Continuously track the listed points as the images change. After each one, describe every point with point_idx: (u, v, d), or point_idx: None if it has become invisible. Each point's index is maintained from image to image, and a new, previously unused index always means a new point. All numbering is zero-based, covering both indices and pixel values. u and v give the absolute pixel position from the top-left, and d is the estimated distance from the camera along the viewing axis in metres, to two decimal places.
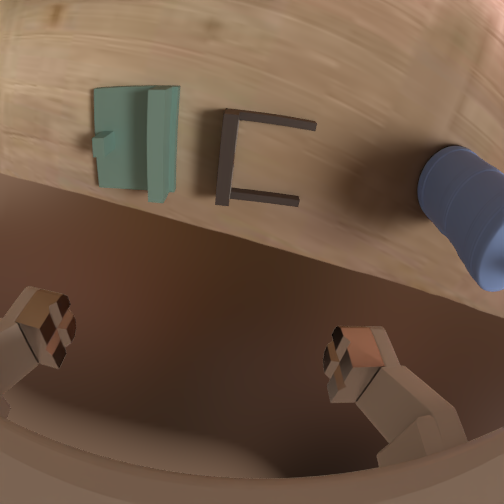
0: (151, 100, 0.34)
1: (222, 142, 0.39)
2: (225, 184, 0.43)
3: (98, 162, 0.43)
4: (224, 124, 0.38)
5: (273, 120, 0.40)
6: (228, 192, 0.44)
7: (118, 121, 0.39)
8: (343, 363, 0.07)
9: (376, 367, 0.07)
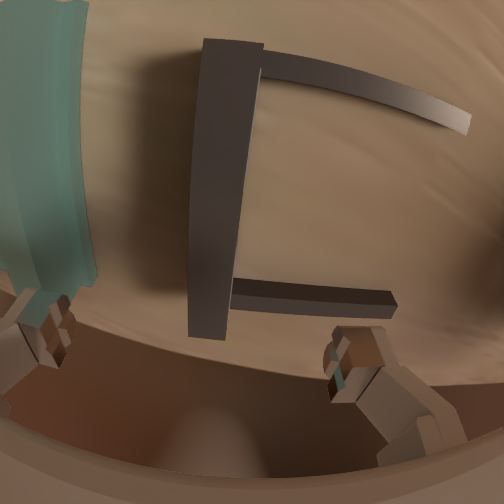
0: None
1: (196, 152, 0.10)
2: (213, 291, 0.14)
3: None
4: (205, 79, 0.09)
5: (367, 87, 0.11)
6: (224, 310, 0.15)
7: None
8: (343, 363, 0.07)
9: (376, 367, 0.07)
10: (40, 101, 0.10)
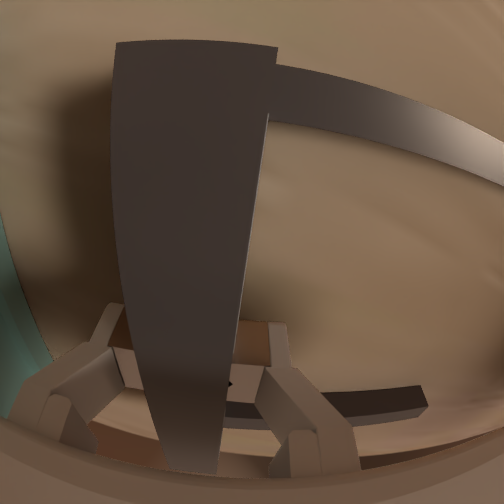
0: None
1: (133, 308, 0.05)
2: (195, 447, 0.08)
3: None
4: (124, 154, 0.04)
5: (453, 145, 0.06)
6: (212, 458, 0.09)
7: None
8: None
9: (259, 366, 0.07)
10: None
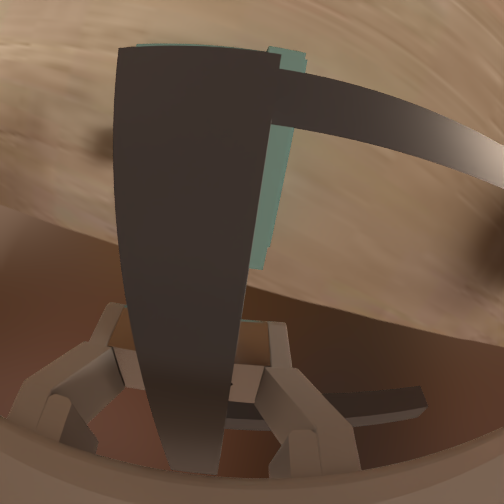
0: None
1: (136, 312, 0.05)
2: (197, 448, 0.08)
3: None
4: (128, 161, 0.04)
5: (453, 149, 0.06)
6: (213, 459, 0.09)
7: None
8: None
9: (260, 366, 0.07)
10: None
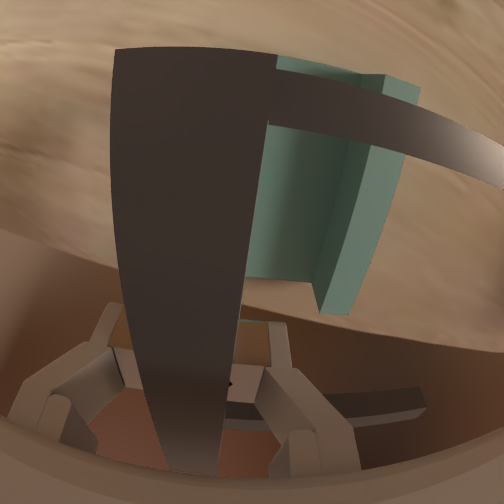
0: None
1: (134, 313, 0.05)
2: (196, 449, 0.08)
3: None
4: (124, 162, 0.04)
5: (452, 149, 0.06)
6: (212, 460, 0.09)
7: None
8: None
9: (260, 366, 0.07)
10: None
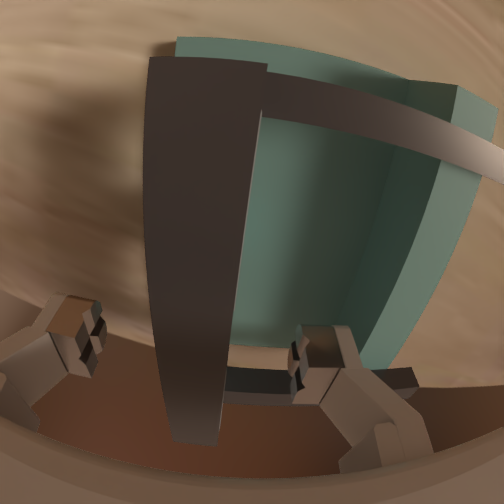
0: (460, 127, 0.08)
1: (152, 265, 0.06)
2: (199, 412, 0.10)
3: None
4: (155, 140, 0.05)
5: (423, 136, 0.07)
6: (213, 426, 0.10)
7: (262, 165, 0.13)
8: (301, 363, 0.07)
9: (335, 368, 0.07)
10: None
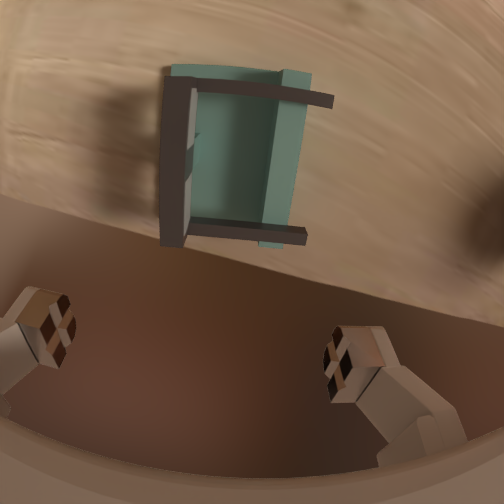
0: (287, 86, 0.22)
1: (162, 130, 0.20)
2: (173, 209, 0.24)
3: None
4: (166, 95, 0.19)
5: (256, 90, 0.21)
6: (180, 223, 0.24)
7: (210, 118, 0.27)
8: (342, 363, 0.07)
9: (376, 367, 0.07)
10: None
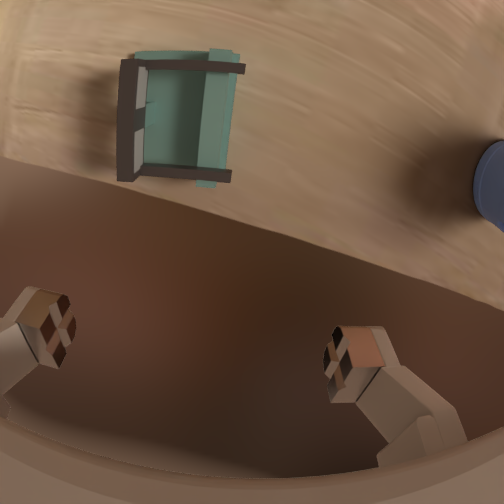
0: (212, 60, 0.28)
1: (119, 96, 0.26)
2: (126, 152, 0.30)
3: None
4: (121, 72, 0.25)
5: (186, 65, 0.27)
6: (130, 162, 0.30)
7: (162, 90, 0.33)
8: (342, 363, 0.07)
9: (376, 367, 0.07)
10: (227, 92, 0.32)
